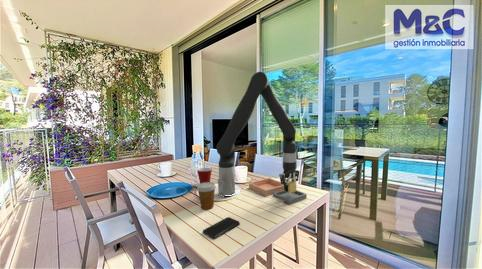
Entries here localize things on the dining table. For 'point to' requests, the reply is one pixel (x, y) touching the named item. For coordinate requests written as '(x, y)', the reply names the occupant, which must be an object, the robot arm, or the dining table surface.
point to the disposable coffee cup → (206, 195)
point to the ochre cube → (291, 187)
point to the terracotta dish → (266, 186)
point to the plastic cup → (204, 174)
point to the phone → (221, 228)
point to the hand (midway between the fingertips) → (289, 189)
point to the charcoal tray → (290, 196)
